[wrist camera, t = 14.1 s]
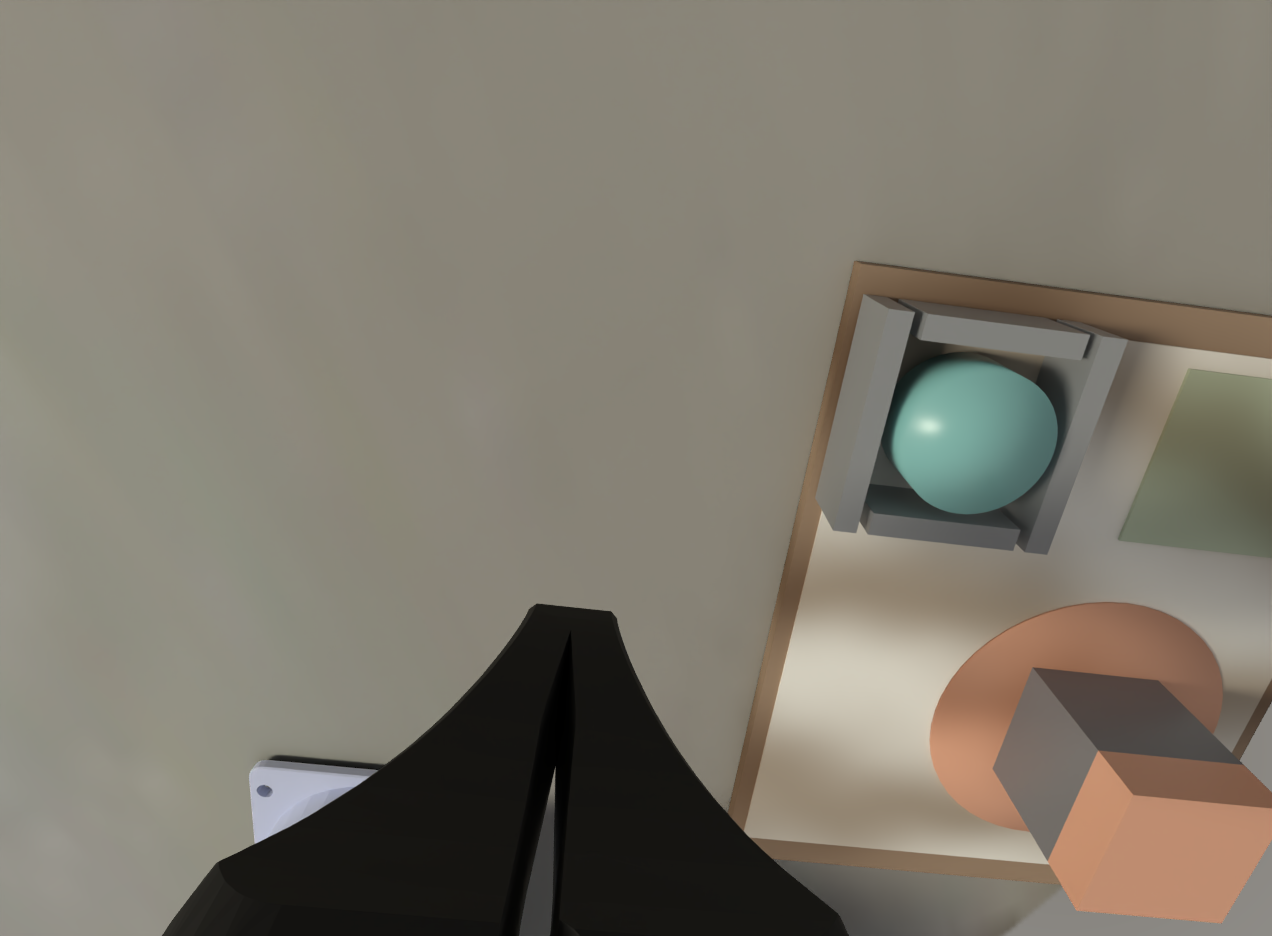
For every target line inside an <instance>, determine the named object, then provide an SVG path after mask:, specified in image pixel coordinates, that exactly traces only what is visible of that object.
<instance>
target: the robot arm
mask: <svg viewBox="0 0 1272 936" xmlns="http://www.w3.org/2000/svg"><path fill="white" fill-rule="evenodd" d="M555 766H556V772H555V820H554V872H553V905H552V922H551V933H550V936H849V935H848V933H847V931H846V929H845V926H844V924H843V922H842V920H841V918H840V916H839V915H838V913H836V912H835V911H834V910H833V909H831V908H830V907H829V906H828V905H827V904H825V903H824V902H823V901H822V900H820V899H819V898H818V897H817V896H816V895H814V894H813V893H812V892H811V891H809V890H808V889H807V888H806V887H804V886H803V885H802V884H801V883H800V882H798V881H797V880H796V879H795V878H793V877H792V876H791V875H790V874H789V873H787V872H786V871H785V870H784V869H783V868H781V867H780V866H779V865H778V864H777V863H776V862H775V861H774V860H773V859H772V858H771V857H770V856H769V855H767V854H766V853H765V852H764V851H763V850H762V849H761V848H760V847H759V846H758V845H757V844H756V843H755V842H754V841H753V840H752V839H751V838H750V837H749V836H748V835H747V834H746V833H745V832H744V831H743V830H742V829H741V828H740V827H739V825H738V824H737V823H736V822H735V821H734V820H733V819H732V818H731V817H730V816H729V814H728V813H727V812H726V811H725V810H724V809H723V808H722V807H721V806H720V805H719V803H718V802H717V801H716V800H715V799H714V798H713V796H712V795H711V794H710V793H709V791H708V790H707V789H706V787H705V786H704V785H703V784H702V782H701V781H700V780H699V779H698V777H697V776H696V775H695V773H694V772H693V770H692V769H691V768H690V766H689V765H688V763H687V762H686V761H685V759H684V758H683V756H682V755H681V754H680V752H679V751H678V749H677V748H676V746H675V744H674V743H673V741H672V740H671V738H670V737H669V735H668V733H667V732H666V730H665V728H664V727H663V725H662V723H661V721H660V720H659V718H658V716H657V715H656V713H655V711H654V709H653V707H652V705H651V704H650V702H649V700H648V698H647V696H646V694H645V692H644V690H643V688H642V685H641V683H640V681H639V679H638V677H637V675H636V673H635V671H634V668H633V666H632V664H631V662H630V659H629V656H628V654H627V651H626V649H625V646H624V643H623V640H622V637H621V634H620V631H619V627H618V623H617V618H616V617H615V616H614V614H613V613H612V612H611V611H602V610H592V609H583V608H573V607H564V606H554V605H545V604H536V605H534V606H533V607H531V608H530V609H529V611H528V613H527V615H526V616H525V618H524V620H523V621H522V623H521V625H520V626H519V628H518V629H517V631H516V632H515V634H514V635H513V637H512V638H511V639H510V641H509V642H508V643H507V645H506V646H505V648H504V649H503V650H502V651H501V653H500V654H499V655H498V656H497V658H496V659H495V660H494V661H493V663H492V664H491V665H490V666H489V667H488V669H487V670H486V671H485V672H484V674H483V675H482V676H481V677H480V678H479V679H478V680H477V682H476V683H475V684H474V685H473V686H472V687H471V688H470V689H469V690H468V691H467V692H466V693H465V694H464V695H463V696H462V697H461V699H460V700H459V701H458V702H457V703H456V704H455V705H454V706H453V707H452V708H451V709H450V710H449V711H448V712H447V713H446V714H445V715H444V716H443V717H442V718H441V719H440V720H439V721H437V722H436V723H435V724H434V725H433V726H432V727H431V728H430V729H429V730H428V731H426V732H425V733H424V734H423V735H422V736H421V737H419V738H418V739H417V740H416V741H415V742H414V743H413V744H411V745H410V746H409V747H408V748H406V749H405V750H404V751H403V752H401V753H400V754H399V755H397V756H396V757H395V758H394V759H392V760H391V761H390V762H388V763H387V764H386V765H385V766H383V767H382V768H381V769H379V770H371V769H360V768H350V767H339V766H328V765H317V764H306V763H296V762H285V761H274V760H261V761H259V762H257V763H256V764H255V765H254V767H253V768H252V770H251V772H250V775H249V782H250V794H251V805H252V817H253V829H254V840H255V844H254V845H252V846H250V847H248V848H246V849H244V850H242V851H240V852H238V853H236V854H234V855H232V856H230V857H227V858H225V859H223V860H221V861H219V862H217V863H216V864H215V865H214V867H213V868H212V869H211V870H210V872H209V873H208V874H207V876H206V877H205V878H204V879H203V881H202V882H201V883H200V885H199V886H198V887H197V889H196V890H195V891H194V892H193V894H192V895H191V896H190V898H189V899H188V900H187V902H186V903H185V904H184V905H183V907H182V908H181V909H180V911H179V912H178V913H177V915H176V916H175V917H174V919H173V920H172V921H171V923H170V924H169V926H168V927H167V929H166V930H165V932H164V934H163V935H162V936H519V931H520V924H521V919H522V913H523V908H524V903H525V897H526V892H527V888H528V884H529V879H530V875H531V871H532V866H533V862H534V857H535V853H536V849H537V844H538V840H539V836H540V831H541V827H542V823H543V818H544V814H545V810H546V805H547V801H548V796H549V792H550V788H551V783H552V779H553V774H554V770H555ZM265 785H266V786H269V787H270V788H268V787H266V786H265Z"/></svg>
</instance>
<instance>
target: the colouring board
mask: <svg viewBox="0 0 1272 936" xmlns="http://www.w3.org/2000/svg"><path fill="white" fill-rule="evenodd" d="M863 294H867V295H874V296H882V297H888V298H890V299H891V300H893V301H895V302H897V303H898V300H899V299H905V300H913V301H921V302H928V303H936V304H944V305H951V306H959V307H967V308H974V309H982V310H990V311H997V312H1005V313H1013V314H1021V315H1028V316H1036V317H1044V318H1048V319H1050V320H1053V321H1055V322H1056V321H1057V319H1059V320H1067V321H1074V322H1081V323H1084V324H1086V325H1089V326H1092V327H1095V328H1097V329H1100V330H1103V331H1106V332H1108V333H1111V334H1114V335H1117V336H1119V337H1122V338H1125V339H1128V342H1127V344H1126V347H1125V350H1124V352H1123V355H1122V358H1121V360H1120V363H1119V366H1118V368H1117V371H1116V374H1115V376H1114V379H1113V382H1112V384H1111V387H1110V390H1109V392H1108V395H1107V398H1106V400H1105V403H1104V405H1103V408H1102V411H1101V413H1100V416H1099V419H1098V421H1097V424H1096V427H1095V429H1094V432H1093V435H1092V437H1091V440H1090V443H1089V445H1088V448H1087V451H1086V453H1085V456H1084V459H1083V461H1082V464H1081V467H1080V469H1079V472H1078V474H1077V477H1076V480H1075V482H1074V485H1073V488H1072V490H1071V493H1070V496H1069V498H1068V501H1067V504H1066V506H1065V509H1064V512H1063V514H1062V517H1061V520H1060V522H1059V525H1058V528H1057V530H1056V533H1055V536H1054V538H1053V541H1052V543H1051V546H1050V549H1049V551H1048V554H1047V555H1044V554H1035V553H1026V552H1024V551H1023V550H1022V549H1021V548H1020V547H1019V546H1018V545H1017V544H1016V545H1015V547H1014V550H1013V551H1009V550H1000V549H991V548H982V547H973V546H964V545H955V544H947V543H938V542H929V541H920V540H911V539H902V538H893V537H885V536H876V535H868V534H867V532H866V531H865V529H864V528H863V526H862V525H861V523H860V521H859V525H858V529H857V532H856V533H849V532H840V531H833V530H832V528H831V526H830V524H829V522H828V521H827V519H826V517H825V515H824V513H823V511H822V510H821V508H820V506H819V504H818V502H817V500H816V498H815V496H816V492H817V488H818V483H819V479H820V475H821V471H822V467H823V462H824V458H825V454H826V450H827V446H828V441H829V437H830V433H831V429H832V425H833V420H834V416H835V412H836V408H837V404H838V399H839V395H840V391H841V387H842V383H843V378H844V374H845V370H846V366H847V362H848V357H849V353H850V349H851V345H852V340H853V336H854V332H855V328H856V324H857V319H858V315H859V311H860V307H861V303H862V298H863ZM954 352H969V353H975V354H980V355H983V356H986V357H988V358H990V359H992V360H994V361H996V362H998V363H999V364H1001V365H1003V366H1005V367H1007V368H1008V369H1010V370H1012V371H1014V372H1016V373H1017V374H1019V375H1021V376H1023V377H1025V378H1026V379H1028V380H1030V381H1032V382H1033V383H1034V384H1036V381H1037V378H1038V375H1039V372H1040V369H1041V366H1042V363H1043V360H1044V357H1045V356H1042V355H1034V354H1026V353H1018V352H1010V351H1003V350H995V349H987V348H979V347H971V346H963V345H955V344H948V343H940V342H932V341H924V340H920V339H918V338H917V337H915V336H913V335H912V334H910V333H909V337H908V340H907V344H906V348H905V352H904V355H903V359H902V363H901V367H900V370H899V374H898V378H897V382H896V384H897V383H898V382H899V380H900V379H901V378H902V377H903V376H904V375H905V374H906V373H908V372H909V371H910V370H912V369H913V368H914V367H916V366H917V365H919V364H921V363H922V362H924V361H926V360H928V359H930V358H933V357H936V356H939V355H942V354H947V353H954ZM869 484H876V485H885V486H894V487H902V488H911V489H913V488H912V487H911V486H910V485H909V483H908V482H907V481H906V480H905V479H904V478H903V476H902V475H901V474H900V473H899V472H898V471H897V469H896V468H895V467H894V466H893V465H892V463H891V462H890V461H889V459H888V458H887V456H886V454H885V452H884V449H883V447H882V443H881V442H880V446H879V450H878V453H877V457H876V461H875V465H874V468H873V472H872V476H871V480H870V483H869ZM1032 667H1035V668H1045V669H1054V670H1064V671H1073V672H1083V673H1092V674H1102V675H1111V676H1121V677H1131V678H1140V679H1150V680H1158V681H1159V682H1160V683H1161V684H1162V685H1163V686H1164V687H1165V688H1166V689H1167V690H1168V691H1169V692H1170V693H1172V694H1173V695H1174V696H1175V697H1176V698H1177V699H1178V700H1179V701H1180V702H1181V703H1182V704H1183V705H1184V706H1185V707H1186V708H1187V709H1188V710H1189V711H1190V712H1191V713H1192V714H1193V715H1194V716H1195V717H1196V718H1197V719H1198V720H1199V721H1200V722H1201V723H1202V724H1203V725H1204V726H1205V727H1206V728H1207V729H1208V730H1209V731H1210V732H1211V733H1212V734H1213V735H1214V736H1215V737H1216V738H1217V739H1218V740H1219V741H1220V742H1221V743H1222V744H1223V745H1224V746H1225V747H1226V748H1227V749H1228V750H1229V751H1230V752H1231V753H1232V754H1233V755H1234V756H1235V757H1236V758H1237V759H1238V760H1240V758H1241V757H1242V755H1243V753H1244V751H1245V749H1246V747H1247V745H1248V744H1249V742H1250V740H1251V738H1252V736H1253V735H1254V733H1255V731H1256V729H1257V727H1258V726H1259V724H1260V722H1261V720H1262V718H1263V717H1264V715H1265V713H1266V711H1267V709H1268V707H1269V706H1270V704H1271V702H1272V316H1268V315H1261V314H1253V313H1246V312H1238V311H1230V310H1223V309H1215V308H1208V307H1200V306H1193V305H1185V304H1177V303H1170V302H1162V301H1155V300H1147V299H1140V298H1132V297H1125V296H1117V295H1109V294H1102V293H1094V292H1087V291H1079V290H1072V289H1064V288H1057V287H1049V286H1041V285H1034V284H1026V283H1019V282H1011V281H1004V280H996V279H988V278H981V277H973V276H966V275H958V274H951V273H943V272H936V271H928V270H920V269H913V268H905V267H898V266H890V265H883V264H875V263H868V262H860V261H854V265H853V270H852V274H851V279H850V283H849V287H848V292H847V296H846V300H845V305H844V309H843V313H842V318H841V322H840V326H839V331H838V335H837V340H836V344H835V348H834V353H833V357H832V361H831V366H830V370H829V374H828V379H827V383H826V387H825V392H824V396H823V401H822V405H821V409H820V414H819V418H818V422H817V427H816V431H815V435H814V440H813V444H812V448H811V453H810V457H809V461H808V466H807V470H806V475H805V479H804V483H803V488H802V492H801V496H800V501H799V505H798V509H797V514H796V518H795V522H794V527H793V531H792V536H791V540H790V544H789V549H788V553H787V557H786V562H785V566H784V570H783V575H782V579H781V583H780V588H779V592H778V596H777V601H776V605H775V610H774V614H773V618H772V623H771V627H770V631H769V636H768V640H767V644H766V649H765V653H764V657H763V662H762V666H761V671H760V675H759V679H758V684H757V688H756V692H755V697H754V701H753V705H752V710H751V714H750V718H749V723H748V727H747V732H746V736H745V740H744V745H743V749H742V753H741V758H740V762H739V766H738V771H737V775H736V779H735V784H734V788H733V792H732V797H731V801H730V806H729V810H728V814H729V816H730V817H731V818H732V819H733V820H734V821H735V822H736V823H737V824H738V825H739V827H740V828H741V829H742V830H743V831H744V832H745V833H746V834H747V835H748V836H749V837H750V838H751V839H752V840H753V841H754V842H755V843H756V844H757V845H758V846H759V847H760V848H761V849H762V850H763V851H764V852H765V853H766V854H767V855H769V856H770V857H771V858H772V859H779V860H790V861H802V862H813V863H824V864H835V865H847V866H858V867H869V868H880V869H892V870H903V871H914V872H925V873H937V874H948V875H959V876H970V877H981V878H993V879H1004V880H1015V881H1026V882H1038V883H1049V884H1060V885H1061V883H1060V882H1059V880H1058V878H1057V877H1056V875H1055V873H1054V872H1053V870H1052V868H1051V866H1050V865H1049V863H1048V861H1047V860H1046V858H1045V856H1044V855H1043V853H1042V851H1041V850H1040V848H1039V846H1038V845H1037V843H1036V841H1035V839H1034V838H1033V836H1032V834H1031V833H1030V831H1029V829H1028V828H1027V826H1026V824H1025V823H1024V821H1023V819H1022V818H1021V816H1020V814H1019V812H1018V811H1017V809H1016V807H1015V806H1014V804H1013V802H1012V801H1011V799H1010V797H1009V796H1008V794H1007V792H1006V791H1005V789H1004V787H1003V785H1002V784H1001V782H1000V780H999V779H998V777H997V775H996V774H995V772H994V770H993V766H994V763H995V761H996V758H997V756H998V753H999V751H1000V748H1001V746H1002V743H1003V741H1004V738H1005V736H1006V733H1007V730H1008V728H1009V725H1010V723H1011V720H1012V718H1013V715H1014V713H1015V710H1016V708H1017V705H1018V703H1019V700H1020V698H1021V695H1022V692H1023V690H1024V687H1025V685H1026V682H1027V680H1028V677H1029V675H1030V672H1031V670H1032Z"/></svg>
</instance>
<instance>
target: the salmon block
mask: <svg viewBox="0 0 1272 936" xmlns="http://www.w3.org/2000/svg"><path fill="white" fill-rule="evenodd" d="M993 770H994V772H995V774H996V775H997V777H998V779H999V780H1000V782H1001V784H1002V785H1003V787H1004V789H1005V791H1006V792H1007V794H1008V796H1009V797H1010V799H1011V801H1012V802H1013V804H1014V806H1015V807H1016V809H1017V811H1018V812H1019V814H1020V816H1021V818H1022V819H1023V821H1024V823H1025V824H1026V826H1027V828H1028V829H1029V831H1030V833H1031V834H1032V836H1033V838H1034V839H1035V841H1036V843H1037V845H1038V846H1039V848H1040V850H1041V851H1042V853H1043V855H1044V856H1045V858H1046V860H1047V861H1048V863H1049V865H1050V866H1051V868H1052V870H1053V872H1054V873H1055V875H1056V877H1057V878H1058V880H1059V882H1060V883H1061V885H1062V887H1063V888H1064V890H1065V892H1066V893H1067V895H1068V897H1069V898H1070V900H1071V902H1072V904H1073V905H1074V907H1075V908H1076V910H1077V911H1088V912H1098V913H1110V914H1121V915H1122V914H1123V915H1132V916H1144V917H1155V918H1166V919H1179V920H1189V921H1200V922H1212V923H1222V922H1223V920H1224V918H1225V917H1226V915H1227V914H1228V912H1229V910H1230V909H1231V907H1232V905H1233V904H1234V902H1235V900H1236V899H1237V897H1238V895H1239V894H1240V892H1241V890H1242V889H1243V887H1244V885H1245V884H1246V882H1247V880H1248V879H1249V877H1250V875H1251V874H1252V872H1253V870H1254V869H1255V867H1256V865H1257V864H1258V862H1259V860H1260V859H1261V857H1262V855H1263V854H1264V852H1265V850H1266V849H1267V847H1268V845H1269V844H1270V842H1271V840H1272V792H1271V791H1270V790H1269V789H1268V788H1266V786H1264V785H1263V783H1261V782H1260V781H1259V780H1258V779H1257V778H1256V777H1255V776H1254V775H1253V774H1252V773H1251V772H1250V771H1249V770H1248V769H1247V768H1246V767H1245V766H1244V765H1243V764H1242V763H1241V762H1240V761H1239V760H1238V759H1237V758H1236V757H1235V756H1234V755H1233V754H1232V753H1231V752H1230V751H1229V750H1228V749H1227V748H1226V747H1225V746H1224V745H1223V744H1222V743H1221V742H1220V741H1219V740H1218V739H1217V738H1216V737H1215V736H1214V735H1213V734H1212V733H1211V732H1210V731H1209V730H1208V729H1207V728H1206V727H1205V726H1204V725H1203V724H1202V723H1201V722H1200V721H1199V720H1198V719H1197V718H1196V717H1195V716H1194V715H1193V714H1192V713H1191V712H1190V711H1189V710H1188V709H1187V708H1186V707H1185V706H1184V705H1183V704H1182V703H1181V702H1180V701H1179V700H1178V699H1177V698H1176V697H1175V696H1174V695H1173V694H1172V693H1170V692H1169V691H1168V690H1167V689H1166V688H1165V687H1164V686H1163V685H1162V684H1161V683H1160V682H1159V681H1158V680H1150V679H1140V678H1131V677H1121V676H1111V675H1102V674H1092V673H1083V672H1073V671H1064V670H1054V669H1045V668H1035V667H1032V670H1031V672H1030V675H1029V677H1028V680H1027V682H1026V685H1025V687H1024V690H1023V692H1022V695H1021V698H1020V700H1019V703H1018V705H1017V708H1016V710H1015V713H1014V715H1013V718H1012V720H1011V723H1010V725H1009V728H1008V730H1007V733H1006V736H1005V738H1004V741H1003V743H1002V746H1001V748H1000V751H999V753H998V756H997V758H996V761H995V763H994V766H993Z"/></svg>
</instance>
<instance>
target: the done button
mask: <svg viewBox="0 0 1272 936" xmlns="http://www.w3.org/2000/svg"><path fill="white" fill-rule="evenodd" d="M1057 434H1058V426H1057V418H1056V414H1055V411H1054V408H1053V406H1052V404H1051V402H1050V400H1049V398H1048V397H1047V396H1046V394H1045V393H1044V392H1043V391H1042V390H1041V389H1040V388H1039V387H1038V386H1037V385H1036V384H1034V383H1033V382H1032V381H1030V380H1028V379H1026V378H1025V377H1023V376H1021V375H1019V374H1017V373H1016V372H1014V371H1012V370H1010V369H1008V368H1007V367H1005V366H1003V365H1001V364H999V363H998V362H996V361H994V360H992V359H990V358H988V357H986V356H983V355H980V354H975V353H969V352H954V353H947V354H942V355H939V356H936V357H933V358H930V359H928V360H926V361H924V362H922V363H921V364H919V365H917V366H916V367H914V368H913V369H912V370H910V371H909V372H908V373H906V374H905V375H904V376H903V377H902V378H901V379H900V380H899V382H898V383H897V384H896V385H895V389H894V393H893V397H892V401H891V404H890V408H889V412H888V416H887V419H886V423H885V427H884V431H883V434H882V438H881V443H882V447H883V449H884V452H885V454H886V456H887V458H888V459H889V461H890V462H891V463H892V465H893V466H894V467H895V468H896V469H897V471H898V472H899V473H900V474H901V475H902V476H903V478H904V479H905V480H906V481H907V482H908V483H909V485H910V486H911V487H912V488H913V489H914V490H915V492H916V493H917V494H918V495H919V496H920V497H921V498H922V499H923V500H925V501H926V502H927V503H929V504H930V505H932V506H934V507H936V508H938V509H940V510H944V511H947V512H951V513H956V514H978V513H984V512H988V511H992V510H995V509H998V508H1000V507H1003V506H1005V505H1007V504H1009V503H1011V502H1013V501H1014V500H1016V499H1017V498H1019V497H1020V496H1022V495H1023V494H1024V493H1026V492H1027V491H1028V490H1029V489H1030V488H1031V487H1032V486H1033V485H1034V484H1035V483H1036V482H1037V481H1038V480H1039V478H1040V477H1041V476H1042V474H1043V473H1044V472H1045V470H1046V468H1047V467H1048V465H1049V463H1050V461H1051V458H1052V456H1053V454H1054V450H1055V447H1056V442H1057Z"/></svg>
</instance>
